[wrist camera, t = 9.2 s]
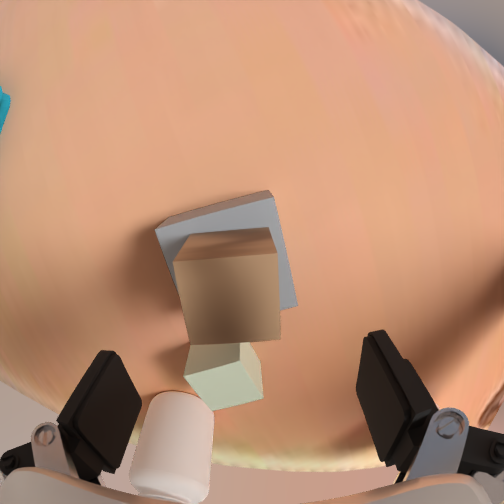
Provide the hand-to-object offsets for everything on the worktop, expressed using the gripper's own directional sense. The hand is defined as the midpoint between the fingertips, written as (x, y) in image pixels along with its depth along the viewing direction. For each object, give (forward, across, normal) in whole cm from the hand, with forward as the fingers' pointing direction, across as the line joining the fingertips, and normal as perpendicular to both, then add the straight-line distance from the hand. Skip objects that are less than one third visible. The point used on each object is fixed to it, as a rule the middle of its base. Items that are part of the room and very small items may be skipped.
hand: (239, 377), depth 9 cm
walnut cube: (+10, +1, 0) cm, 10 cm away
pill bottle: (+14, +10, +19) cm, 25 cm away
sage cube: (+14, +3, +10) cm, 17 cm away
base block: (+14, +1, 0) cm, 14 cm away
